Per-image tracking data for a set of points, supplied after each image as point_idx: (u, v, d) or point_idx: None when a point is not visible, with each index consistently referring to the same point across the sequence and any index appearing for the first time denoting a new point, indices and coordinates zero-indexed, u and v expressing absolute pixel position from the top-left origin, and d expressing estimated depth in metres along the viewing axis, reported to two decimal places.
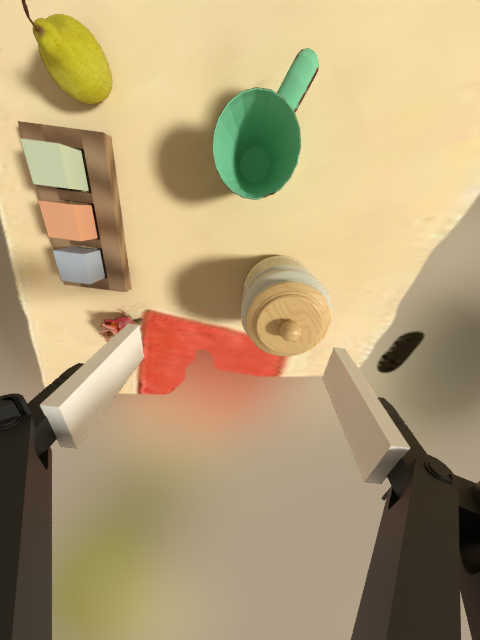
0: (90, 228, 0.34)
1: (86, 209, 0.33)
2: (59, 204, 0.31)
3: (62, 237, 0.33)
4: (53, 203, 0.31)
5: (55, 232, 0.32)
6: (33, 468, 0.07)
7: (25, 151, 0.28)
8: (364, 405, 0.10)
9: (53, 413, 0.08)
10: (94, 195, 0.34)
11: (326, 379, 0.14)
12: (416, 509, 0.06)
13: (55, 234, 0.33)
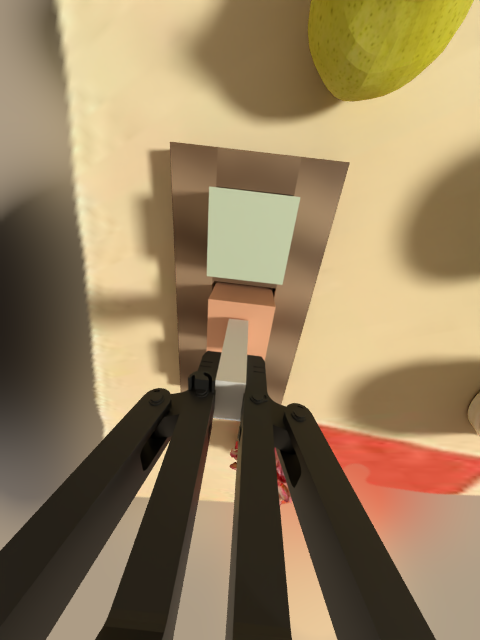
0: None
1: None
2: (248, 306, 0.16)
3: None
4: (237, 304, 0.16)
5: (221, 347, 0.18)
6: (205, 441, 0.08)
7: (212, 214, 0.12)
8: None
9: (223, 387, 0.10)
10: None
11: None
12: (247, 438, 0.08)
13: (219, 350, 0.18)
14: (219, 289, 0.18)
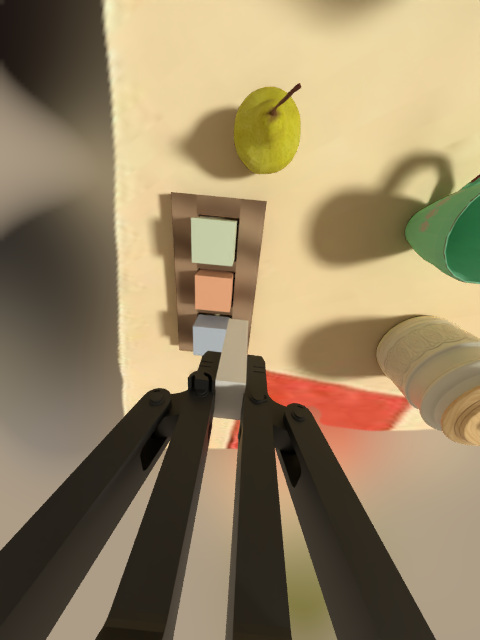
0: (231, 295, 0.32)
1: None
2: (217, 278, 0.28)
3: (210, 309, 0.30)
4: (210, 277, 0.28)
5: (203, 304, 0.30)
6: (205, 441, 0.08)
7: (193, 230, 0.24)
8: None
9: (223, 387, 0.10)
10: (238, 263, 0.30)
11: None
12: (247, 438, 0.08)
13: (202, 307, 0.30)
14: (202, 271, 0.30)
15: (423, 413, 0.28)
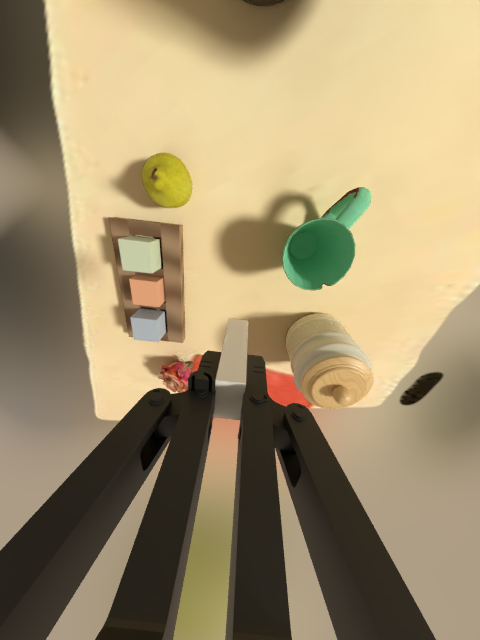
0: (163, 294, 0.42)
1: (162, 280, 0.41)
2: (146, 281, 0.38)
3: (144, 304, 0.40)
4: (141, 281, 0.38)
5: (139, 301, 0.40)
6: (205, 441, 0.08)
7: (120, 247, 0.34)
8: None
9: (223, 387, 0.10)
10: (165, 270, 0.40)
11: None
12: (247, 438, 0.08)
13: (138, 302, 0.40)
14: (138, 275, 0.40)
15: (296, 385, 0.38)
